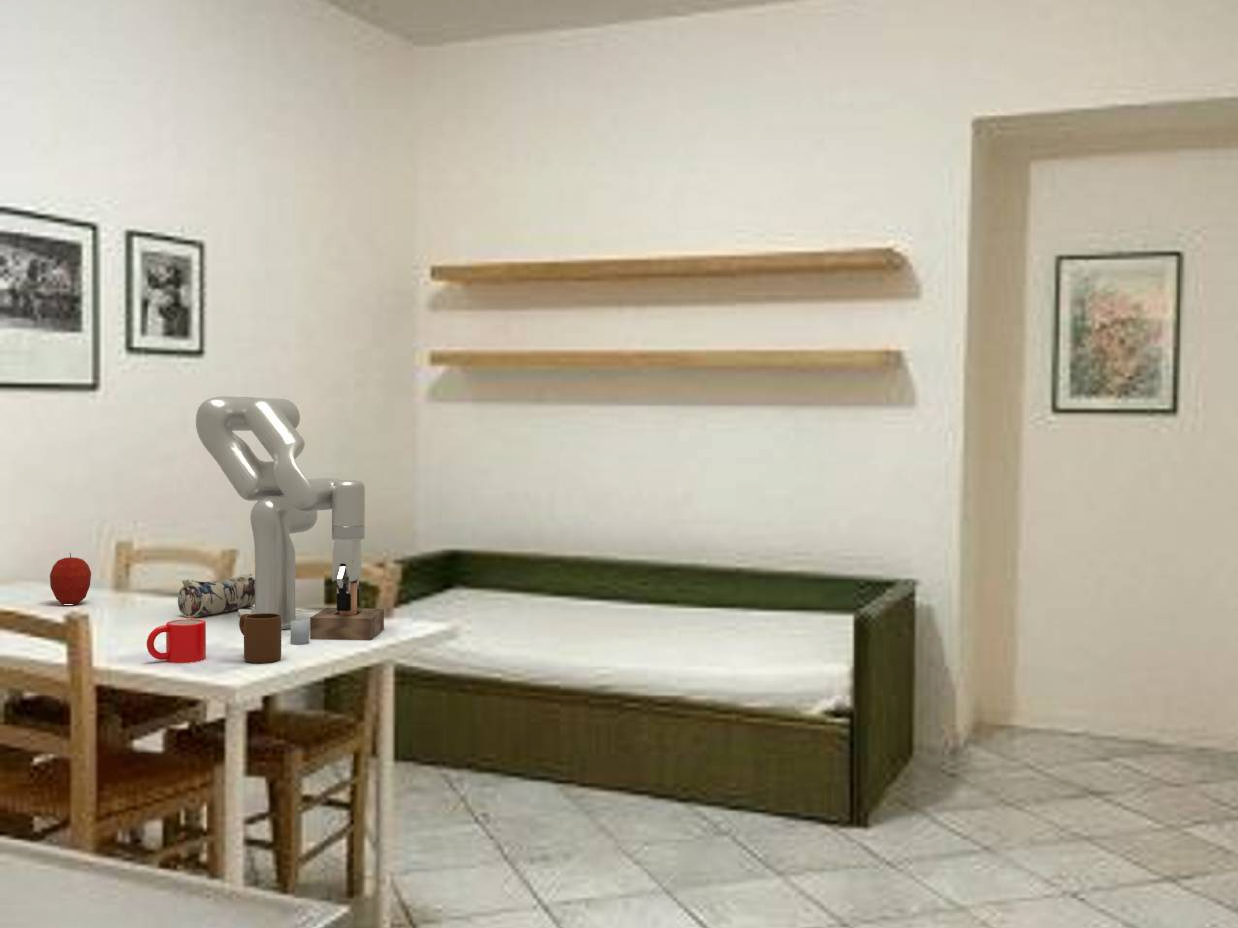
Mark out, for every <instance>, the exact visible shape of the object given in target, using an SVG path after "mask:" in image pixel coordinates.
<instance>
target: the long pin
mask: <svg viewBox="0 0 1238 928" xmlns="http://www.w3.org/2000/svg"><path fill="white" fill-rule="evenodd" d="M346 587H347V584H346ZM349 594H351V610H350V611H340V615H357V608H358V606H357V583H354V582H351V585H350V593H349Z"/></svg>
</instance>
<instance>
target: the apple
mask: <svg viewBox="0 0 1238 928" xmlns="http://www.w3.org/2000/svg"><path fill="white" fill-rule="evenodd" d="M91 577H92V571H91V569H90V565H89V564H88V563H87V562H86V561H85V560H84V559H82V558H80V557H72V553H71V552H69V557H62V558H61V559H58V560H57V561H56V562H55V563H54V565H53V566H52V567H51V571H50V574H49V582H50V585H49V586H50V589H51V591H52V593H53V596H54V598H55V599H56V600H57V602H59V603H60V604H61V603H62V604H76V605H78V603H79V604H80V603H81V602H82V601H83V600H84V599H85V598H86V597H87V595H88V592H89V589H90V587H91V580H92V578H91ZM62 604H61V605H62Z"/></svg>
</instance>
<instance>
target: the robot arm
mask: <svg viewBox="0 0 1238 928" xmlns="http://www.w3.org/2000/svg"><path fill="white" fill-rule="evenodd" d="M300 414H301V413H300V411H299V408H298V407H297V406H296V404H295V403H294V402H293V401H290V400H289V399H286V398H267V397H266V398H265V397H253V396H214V397H211V398H208V399H206V400H204V401H203V402H202V403H201V404H200V405H199V406H198V408H197V410H196V416H195V427H196V431H197V432H196V433H197V435H198V438H199V440H200V442H201V444H202V445H203V447H204V448H205V449H206V450H207V452H208V453H209V454H210V455H211V457H212V458H213V459H214V460H215V462H216V464H217V465H218V466H219V467H220V470H221V471H222V472H223V473H224V475H225V476H226V478H227V480H228V481H229V482H230V484H231V486H233V489H234V490H235V491H236V493H237V494H238V496H240V497H241V498H242V499H243V500H245V501H251V502H255V501H257V502H255V503H254V504H253V506H252V508H251V511H250V516H249V517H250V519H249V520H250V527H251V531H252V535H253V536H252V537H253V544H254V545H253V546H254V578H255V604H254V606H252V607H250V609H249V608H240V609H237V616H238V617H239V618H240V617H241V616H242V615H243V614H258V613H273V614H279V615H280V616H281V630H289V629H290V630H291V621H293V620H302V619H301V618H298V617H296V550H295V547H294V546H295V545H294V543H293V541H292V538H291V536H290V534H298V533H304V532H307V531H309V530H310V529H312V528H313V527H314V526H315V524H316V523H317V520H318V511H328V510H331V540H333V548H332V549H333V551H332V563H331V564H332V565H331V567H332V568H331V581H332V582H333V583H336V587H337V588H336V608H337V611H350V610H351V594H349V593H350V585H351V582H354V583H357V607H358V606H359V605H360V583H359V579H360V577H361V575H362V542H361V540H365V537H366V536H365V534H366V533H365V528H366V527H365V526H366V525H365V522H366V521H365V520H366V519H365V515H366V514H365V511H366V510H365V509H366V505H365V504H366V501H365V500H366V497H365V496H366V489H365V487H366V486H365V484H364V482H363V481H361V480H356V479H355V480H354V479H351V480H350V479H349V480H347V479H346V480H343V479H338V478H333V477H331V478H330V477H324V478H322V477H321V478H307V477H306V475H305V474H304V473H303V472H302V470H301V469H300V467H299V466H298V464H297V463H296V459H297V458H298V457H299V456H300V455H301V453H302V452H303V451H304V449H305V445H306V444H305V443H306V442H305V440H304V438H303V436H301V435H300V433H299V432H298V431H297V429H296V428H297V427H298V426H299V424H300V421H301V415H300ZM234 431H235V432H238V431H246V432H247V431H248V432H249V431H250V432H252V433H253V435H254V436H255V437H256V438H257V440H258V441H259V443H260V444H261V445H262V446H263V448H264V449H265V451H267V453H268V454H269V456H271V459H273V461H264V460H261V459H259V458H258V457H257V455H255V453H254V452H253V450H252V448H251V447H250V446H249V445H248V443H247V442H246V441H245V440H243V439H242V437H239V436H238V435H237V434H236V433H234ZM346 584H347V587H346Z"/></svg>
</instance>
